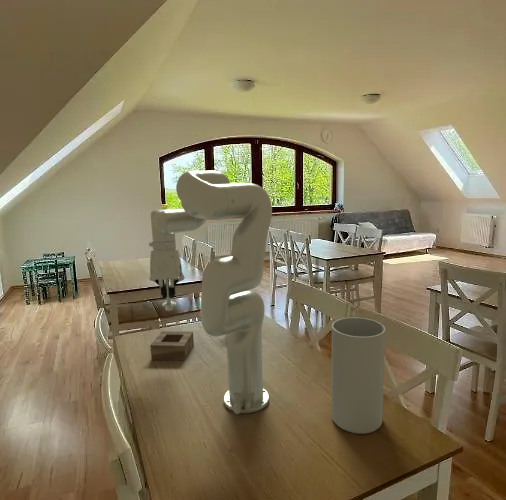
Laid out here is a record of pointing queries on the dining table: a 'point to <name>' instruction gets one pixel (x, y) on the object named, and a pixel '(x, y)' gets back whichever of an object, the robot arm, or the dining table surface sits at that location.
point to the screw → (168, 297)
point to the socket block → (172, 345)
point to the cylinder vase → (357, 374)
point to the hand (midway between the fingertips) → (168, 297)
